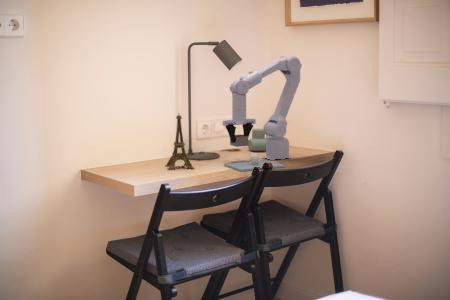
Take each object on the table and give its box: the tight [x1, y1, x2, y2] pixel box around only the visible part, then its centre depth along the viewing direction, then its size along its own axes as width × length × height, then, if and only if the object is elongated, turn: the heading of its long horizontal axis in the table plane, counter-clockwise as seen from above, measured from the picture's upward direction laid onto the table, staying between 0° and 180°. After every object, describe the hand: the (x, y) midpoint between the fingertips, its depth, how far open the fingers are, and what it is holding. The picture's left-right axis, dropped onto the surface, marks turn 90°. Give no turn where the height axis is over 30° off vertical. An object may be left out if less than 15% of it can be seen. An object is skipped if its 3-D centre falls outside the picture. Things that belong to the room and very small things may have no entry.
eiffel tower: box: [164, 114, 195, 171], centre depth 267 cm, size 11×11×25 cm
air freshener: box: [247, 128, 266, 153], centre depth 309 cm, size 11×8×10 cm
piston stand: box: [224, 152, 286, 173], centre depth 270 cm, size 20×14×5 cm
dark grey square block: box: [229, 134, 249, 148], centre depth 280 cm, size 6×6×4 cm
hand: (239, 141), depth 280 cm, fingers closed on dark grey square block, 6 cm apart
